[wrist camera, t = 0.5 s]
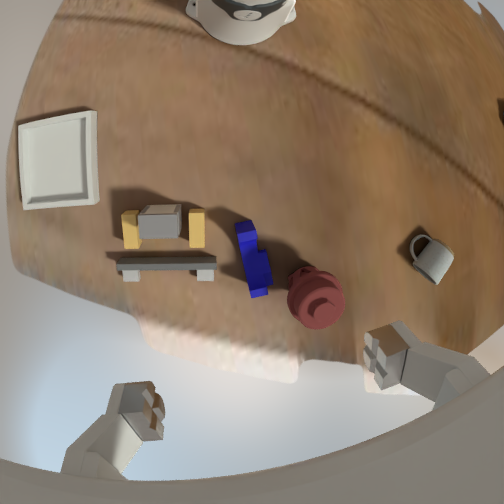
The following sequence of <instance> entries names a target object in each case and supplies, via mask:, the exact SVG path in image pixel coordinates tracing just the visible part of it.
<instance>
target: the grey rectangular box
mask: <svg viewBox="0 0 504 504" xmlns="http://www.w3.org/2000/svg"><path fill="white" fill-rule="evenodd" d="M138 226H139V238H140V239H158V238H178V237H179V236H178V235H179V234H180V231H181V228H182V208H181V204H174V205H147V206H145V208H144V209H143V210H142V211H141V212H140V214H139V215H138Z"/></svg>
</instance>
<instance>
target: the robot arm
mask: <svg viewBox="0 0 504 504" xmlns="http://www.w3.org/2000/svg"><path fill="white" fill-rule="evenodd" d="M295 2H296V0H189V1H188V4H187V7H186V14H187V15H188V16H190V17H191V18H193V19H195V20H197V21H199V22H200V23H201V25H202V26H203V27H204V29H205V30H206V31H207V32H208V33H209V34H210V35H212V36H213V37H215V38H216V39H218V40H220V41H223V42H226V43H229V44H234V45H250V44H255V43H259V42H261V41H264V40H266V39H268V38H269V37H271V36H272V35H273V34H274V33H275V32H276V31H277V30H278V29H279V28H280V27H281V26H282V25H285V24H287V23H290V22H292V21H293V20H294V19H295V17H296V12H295V8H294V4H295ZM193 4H196V6H193ZM364 341H365V343H366V344H367V345H366V346H365V348H364V353H363V356H364V361H365V364H366V366H367V368H368V370H369V371H370V372H373V373H375V376H374V379H375V381H376V383H377V384H378V386H379V387H380V389H381V390H383V389H386V388H389V387H391V386H394V385H397V384H399V383H401V385H403V386H405V387H407V388H409V389H411V390H413V391H415V392H416V393H418V394H420V395H422V396H424V397H426V398H428V399H430V400H432V401H434V402H435V405H434V408H433V410H432V411H431V412H429V413H427V414H425V415H423V416H421V417H419V418H417V419H415V420H413V421H411V422H409V423H407V424H405V425H402V426H400V427H398V428H396V429H393V430H391V431H389V432H387V433H384V434H382V435H379V436H377V437H374V438H372V439H369V440H367V441H364V442H361V443H359V444H356V445H353V446H350V447H347V448H345V449H342V450H339V451H336V452H332V453H330V454H326V455H323V456H319V457H316V458H312V459H309V460H305V461H301V462H297V463H293V464H289V465H285V466H281V467H276V468H271V469H266V470H261V471H256V472H250V473H243V474H237V475H231V476H222V477H213V478H203V479H190V480H172V481H171V480H170V481H133V480H128V479H126V478H125V477H124V476H123V475H122V472H123V471H124V469H125V468H126V466H127V465H128V464H129V462H130V461H131V459H132V458H133V457H134V455H135V454H136V452H137V451H138V449H139V448H140V446H141V445H142V444H143V441H155V440H163V432H164V426H163V424H162V423H161V421H162V420H163V419H164V418H165V407H164V403H163V400H162V398H161V396H160V395H159V394H157V393H155V386H154V384H153V383H152V382H151V381H144V382H132V383H123V384H115V385H114V386H113V389H112V393H111V396H110V399H109V403H108V407H107V410H106V414H105V415H101V416H100V418H98V419H97V420H96V421H95V422H94V423H93V424H92V425H91V426H90V427H89V428H88V429H87V430H86V431H85V432H84V433H83V434H82V435H81V436H80V437H79V438H78V439H77V440H76V441H75V442H74V443H73V444H71V445H70V446H69V447H68V448H67V450H66V454H65V457H64V461H63V465H62V469H61V472H60V473H58V472H52V471H47V470H42V469H37V468H33V467H29V466H25V465H21V464H17V463H14V462H10V461H7V460H4V459H0V504H504V366H503V367H501V368H500V369H499V370H497V371H496V372H495V373H493V374H492V375H490V374H489V373H488V372H487V371H486V369H485V368H484V367H483V366H482V365H481V364H480V363H479V362H478V361H477V360H476V359H475V358H474V357H472V356H469V355H465V354H462V353H459V352H456V351H452V350H449V349H446V348H443V347H439V346H436V345H433V344H430V343H427V342H424V343H422V342H421V341H420V340H419V339H418V338H417V337H416V336H415V335H414V334H413V333H412V332H411V330H410V329H409V328H408V327H407V326H406V325H405V324H404V323H403V322H402V321H400V320H398V321H396V322H393V323H391V324H388V325H385V326H383V327H380V328H377V329H374V330H371V331H368V332H366V333H365V335H364Z"/></svg>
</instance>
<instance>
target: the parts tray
mask: <svg viewBox="0 0 504 504" xmlns="http://www.w3.org/2000/svg"><path fill="white" fill-rule="evenodd" d="M18 141H19V168H20V181H21V192H22V201H23V209H24V210H30V209H41V208H52V207H65V206H78V205H94V204H96V203H97V202H99V201H100V198H99V184H98V164H97V111H92V110H91V111H84V112H78V113H73V114H67V115H62V116H57V117H52V118H47V119H43V120H38V121H34V122H30V123H26V124H22V125H19V127H18Z"/></svg>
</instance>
